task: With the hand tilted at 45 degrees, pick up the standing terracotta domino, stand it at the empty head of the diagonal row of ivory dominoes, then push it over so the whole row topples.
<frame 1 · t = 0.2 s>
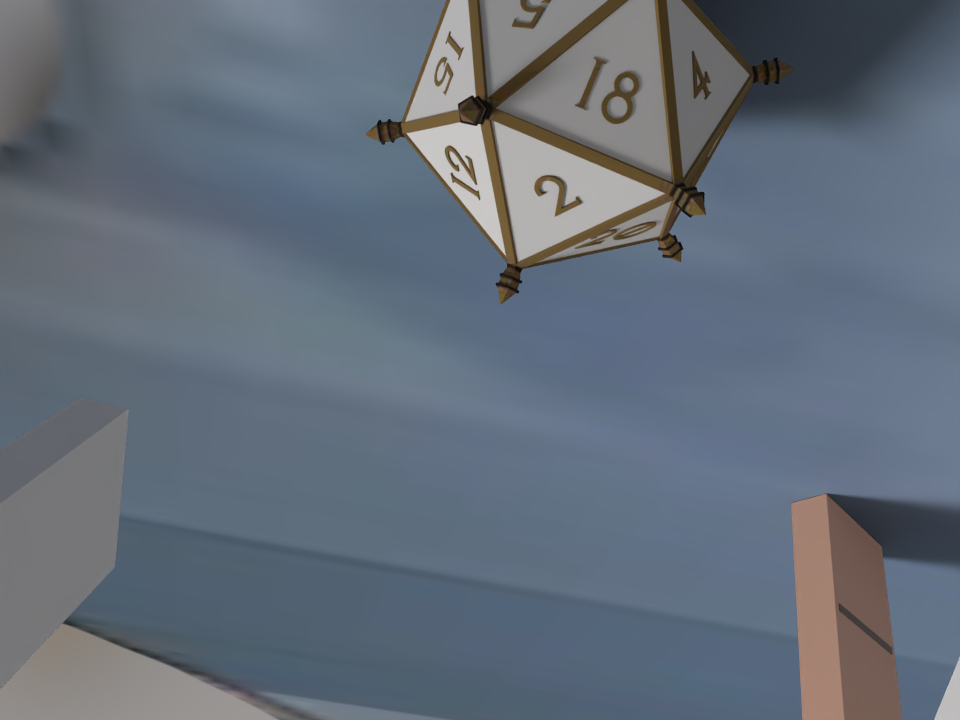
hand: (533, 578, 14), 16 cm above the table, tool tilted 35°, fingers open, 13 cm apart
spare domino: (837, 525, 41), on the table
game die: (589, 7, 24), on the table
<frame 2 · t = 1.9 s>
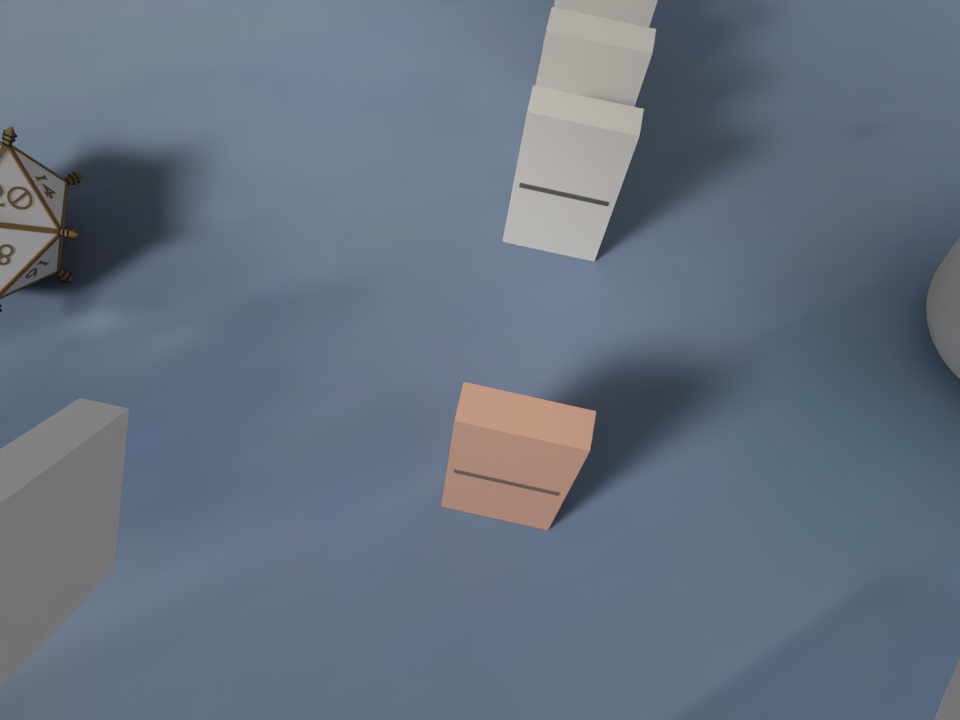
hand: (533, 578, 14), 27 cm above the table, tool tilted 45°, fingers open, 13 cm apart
domino 4: (578, 101, 54), on the table
domino 2: (550, 239, 49), on the table
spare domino: (497, 501, 42), on the table
game die: (17, 267, 46), on the table
domino 3: (565, 167, 52), on the table
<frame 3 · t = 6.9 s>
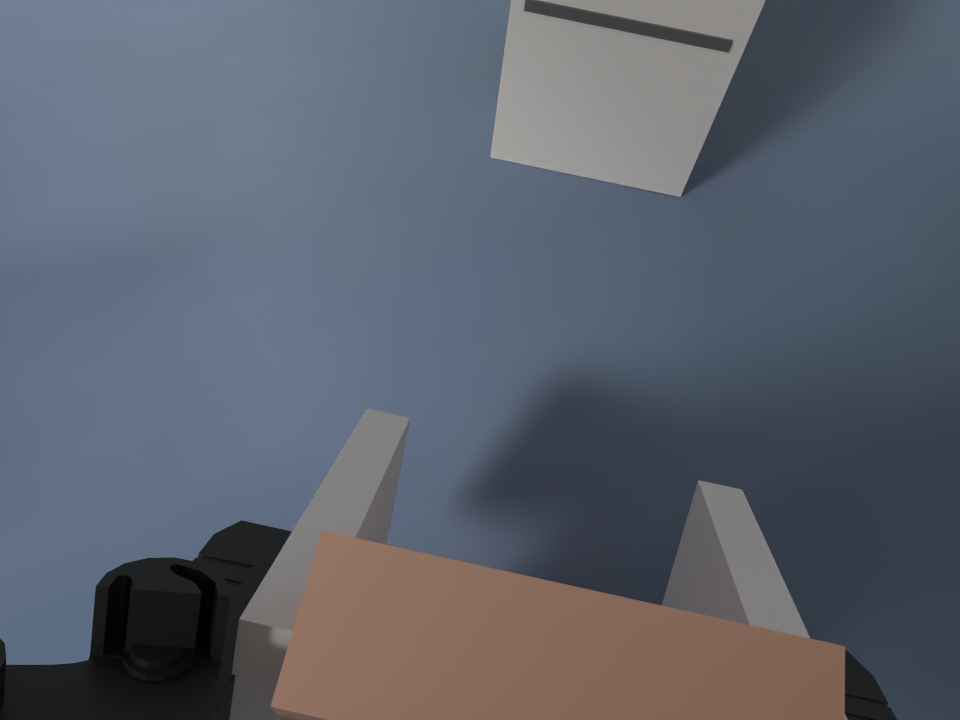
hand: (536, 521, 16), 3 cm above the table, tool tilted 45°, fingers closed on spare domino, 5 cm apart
domino 2: (589, 153, 24), on the table
when the fingers open (9 cm above the table, at t = 10.8 s): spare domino stays where it is, point 6 cm above the table.
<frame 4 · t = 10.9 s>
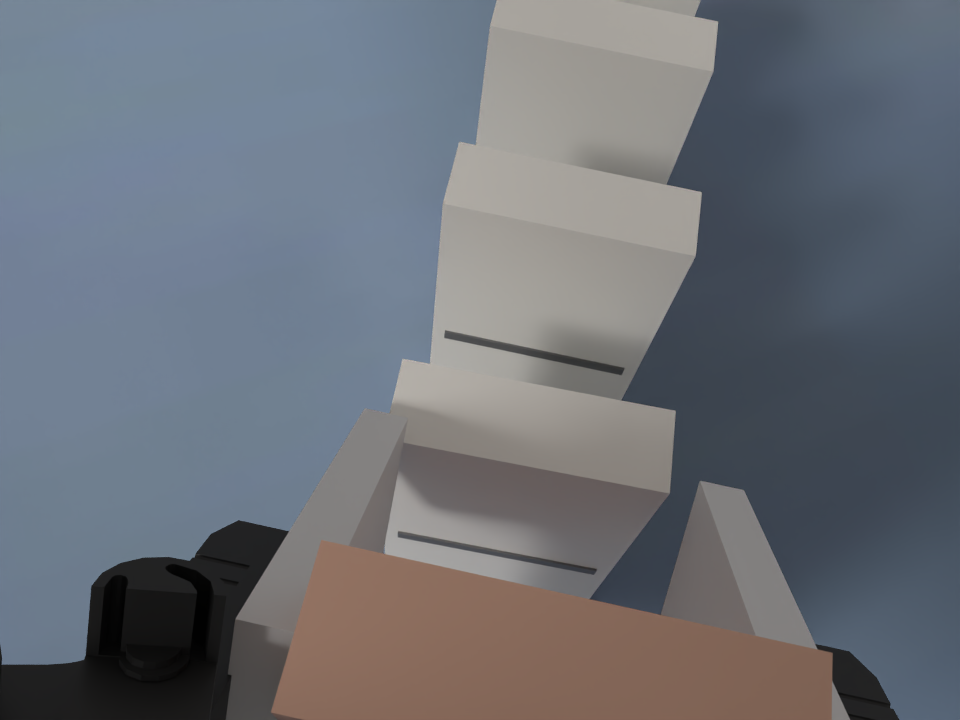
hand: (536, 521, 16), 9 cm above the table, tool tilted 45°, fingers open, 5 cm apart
domino 4: (541, 270, 29), on the table
domino 5: (564, 152, 32), on the table
domino 2: (482, 577, 25), on the table, touching gripper
domino 3: (514, 409, 27), on the table
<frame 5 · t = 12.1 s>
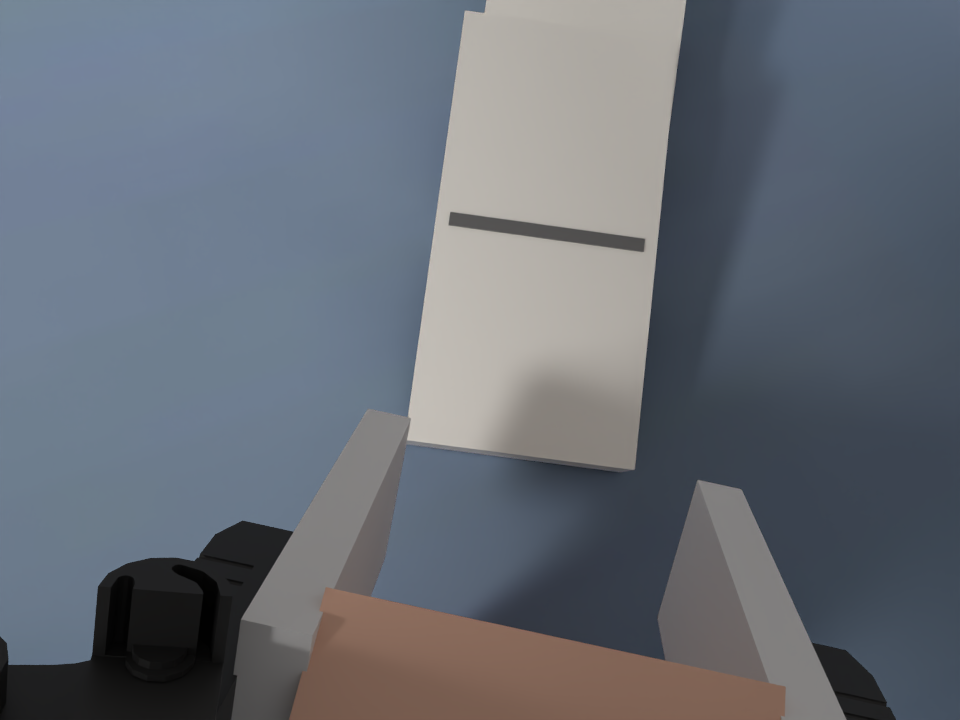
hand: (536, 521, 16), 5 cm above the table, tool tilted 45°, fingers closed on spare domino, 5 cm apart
domino 2: (516, 456, 21), point 1 cm above the table, tilted 71°, touching domino 3
domino 3: (545, 260, 23), point 1 cm above the table, tilted 71°, touching domino 2, domino 4
when the fingers open (5 cm above the table, at t = 12.2 s): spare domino stays where it is, on the table.
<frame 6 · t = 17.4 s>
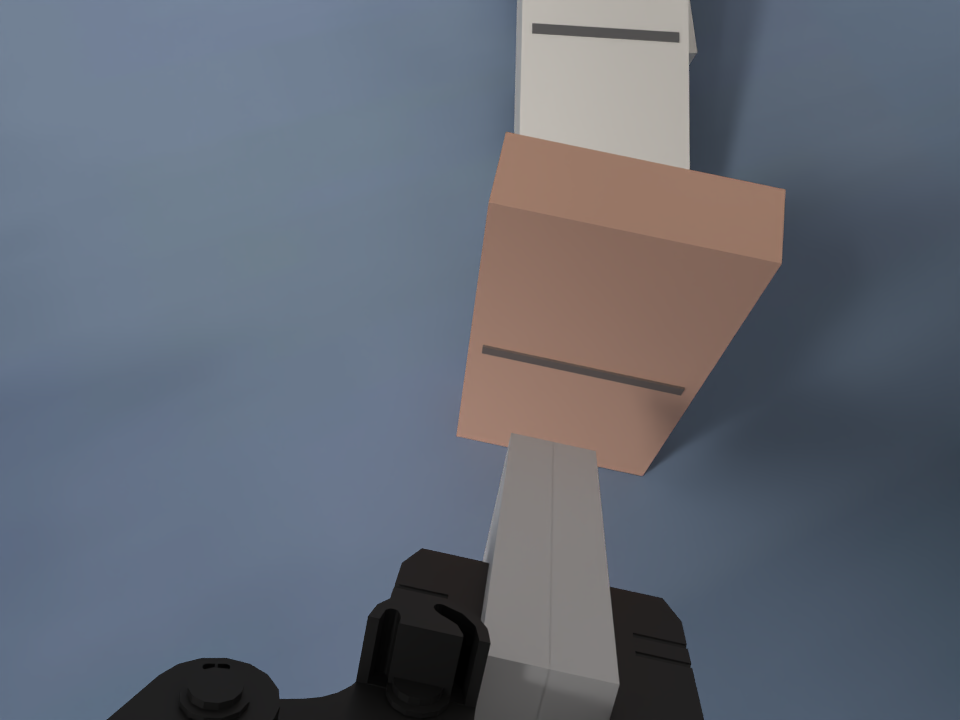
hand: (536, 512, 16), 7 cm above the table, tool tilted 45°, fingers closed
domino 2: (599, 204, 27), point 1 cm above the table, tilted 71°, touching domino 3
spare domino: (554, 428, 25), on the table
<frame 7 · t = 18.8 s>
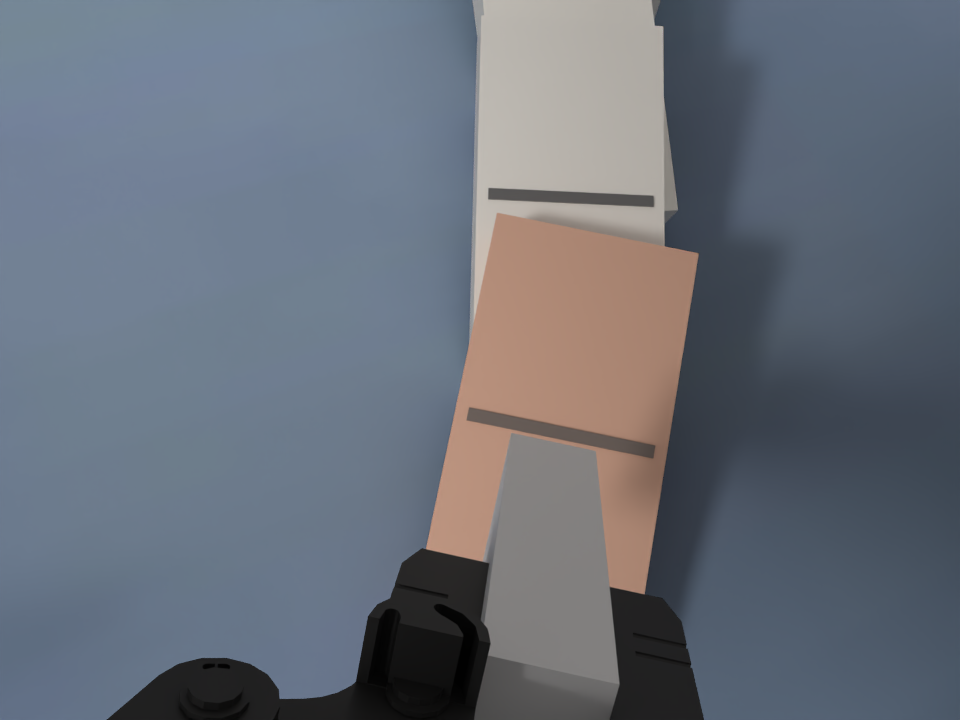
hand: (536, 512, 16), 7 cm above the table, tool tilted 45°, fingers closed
domino 2: (564, 389, 24), point 1 cm above the table, tilted 71°, touching domino 3, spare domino
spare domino: (517, 650, 21), point 1 cm above the table, tilted 74°, touching domino 2
domino 3: (586, 223, 27), point 1 cm above the table, tilted 71°, touching domino 2, domino 4
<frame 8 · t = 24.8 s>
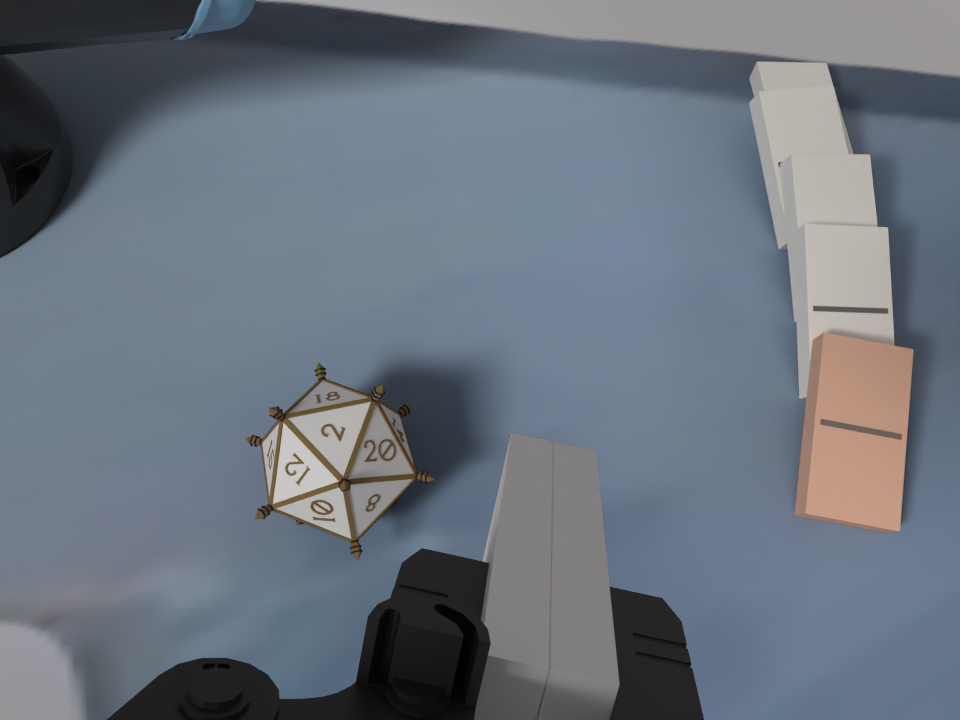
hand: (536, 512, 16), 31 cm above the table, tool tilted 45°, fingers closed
domino 4: (821, 241, 58), point 1 cm above the table, tilted 74°, touching domino 3, domino 5
domino 5: (818, 186, 60), point 1 cm above the table, tilted 89°, touching domino 4
domino 2: (847, 398, 53), point 1 cm above the table, tilted 71°, touching domino 3, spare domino
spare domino: (846, 523, 49), point 1 cm above the table, tilted 75°, touching domino 2
game die: (342, 488, 49), on the table
domino 3: (840, 318, 55), point 1 cm above the table, tilted 71°, touching domino 2, domino 4
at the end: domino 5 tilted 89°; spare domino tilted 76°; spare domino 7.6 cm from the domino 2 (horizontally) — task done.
